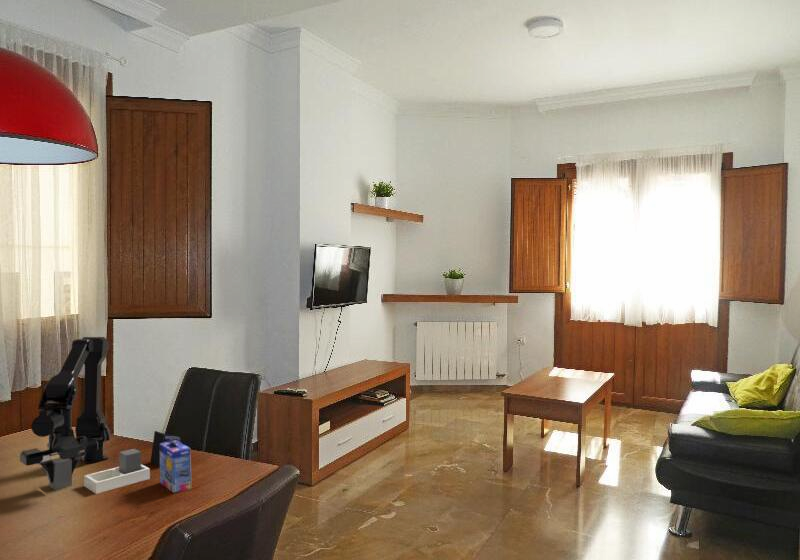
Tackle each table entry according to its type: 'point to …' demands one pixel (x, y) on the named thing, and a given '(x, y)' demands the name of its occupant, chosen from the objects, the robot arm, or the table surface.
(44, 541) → the table surface
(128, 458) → the twin plug
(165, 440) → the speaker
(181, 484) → the ink cartridge box
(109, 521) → the table surface
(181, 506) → the table surface
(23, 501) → the table surface
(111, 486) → the dock
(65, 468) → the grey rectangular block
